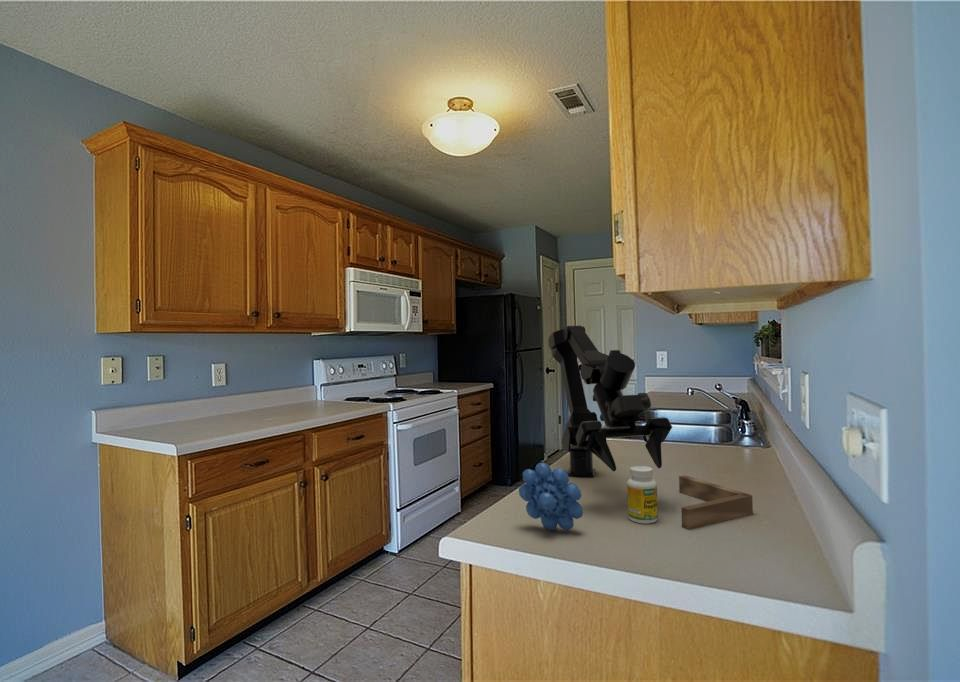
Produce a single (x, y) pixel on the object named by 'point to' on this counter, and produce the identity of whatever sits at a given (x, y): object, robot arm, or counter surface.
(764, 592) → the counter surface
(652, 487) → the supplement bottle
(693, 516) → the walnut corner walls
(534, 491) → the blue knobby flower
